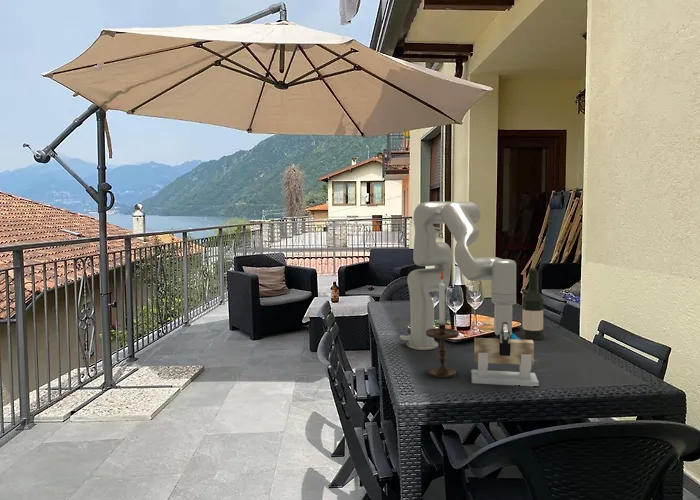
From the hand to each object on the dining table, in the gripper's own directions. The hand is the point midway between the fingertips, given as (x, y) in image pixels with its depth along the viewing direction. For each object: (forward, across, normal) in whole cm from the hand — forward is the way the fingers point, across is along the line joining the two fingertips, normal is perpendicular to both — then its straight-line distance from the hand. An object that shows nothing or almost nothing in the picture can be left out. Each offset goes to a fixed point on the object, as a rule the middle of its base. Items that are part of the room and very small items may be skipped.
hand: (503, 351), depth 158 cm
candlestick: (+10, -3, -20) cm, 22 cm away
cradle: (+9, 0, 0) cm, 9 cm away
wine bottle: (+10, -57, +16) cm, 60 cm away
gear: (+10, -37, +8) cm, 39 cm away
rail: (+3, 0, 0) cm, 3 cm away
